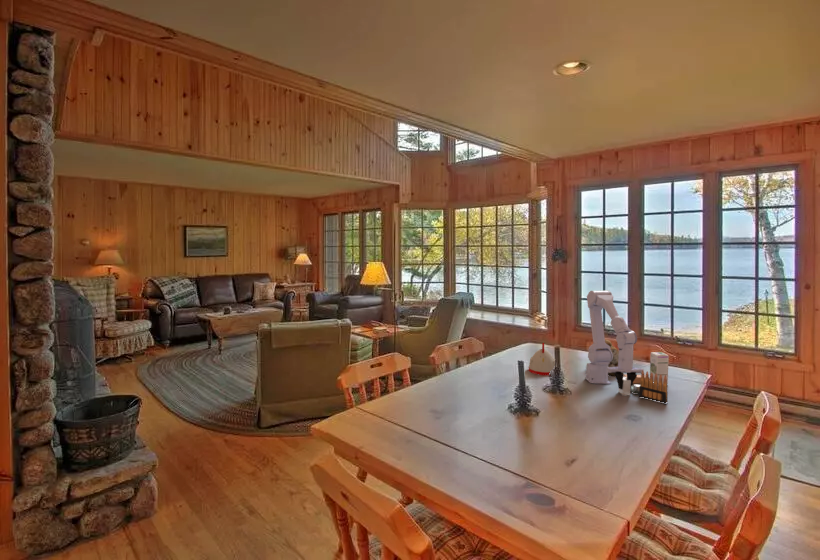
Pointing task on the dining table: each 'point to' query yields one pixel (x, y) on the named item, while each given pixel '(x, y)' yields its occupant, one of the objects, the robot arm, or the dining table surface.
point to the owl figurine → (615, 357)
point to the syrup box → (659, 365)
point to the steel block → (625, 386)
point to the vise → (635, 388)
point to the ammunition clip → (653, 387)
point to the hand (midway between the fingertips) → (624, 388)
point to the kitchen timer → (541, 362)
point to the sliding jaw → (637, 379)
